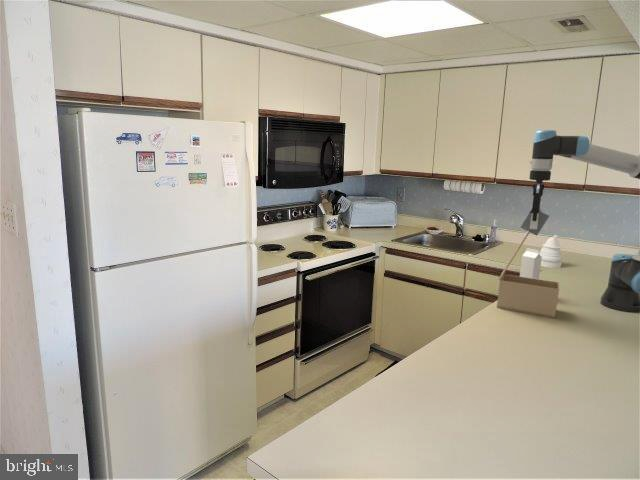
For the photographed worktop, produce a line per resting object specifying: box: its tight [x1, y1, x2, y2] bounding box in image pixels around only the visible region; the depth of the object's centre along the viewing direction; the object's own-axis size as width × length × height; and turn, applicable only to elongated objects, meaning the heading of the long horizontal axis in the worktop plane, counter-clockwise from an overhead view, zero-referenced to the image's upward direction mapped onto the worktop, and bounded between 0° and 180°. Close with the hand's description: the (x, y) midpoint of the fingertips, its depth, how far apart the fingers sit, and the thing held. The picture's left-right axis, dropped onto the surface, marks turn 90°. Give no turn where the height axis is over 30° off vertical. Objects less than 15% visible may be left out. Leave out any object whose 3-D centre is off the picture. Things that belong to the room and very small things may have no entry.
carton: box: [496, 273, 560, 319], centre depth 189 cm, size 22×11×12 cm, turn 62°
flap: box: [498, 208, 550, 281], centre depth 187 cm, size 32×12×7 cm
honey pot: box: [539, 234, 563, 269], centre depth 262 cm, size 13×13×18 cm
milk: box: [519, 247, 542, 279], centre depth 205 cm, size 6×6×22 cm
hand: (533, 228), depth 183 cm, fingers closed on flap, 2 cm apart
